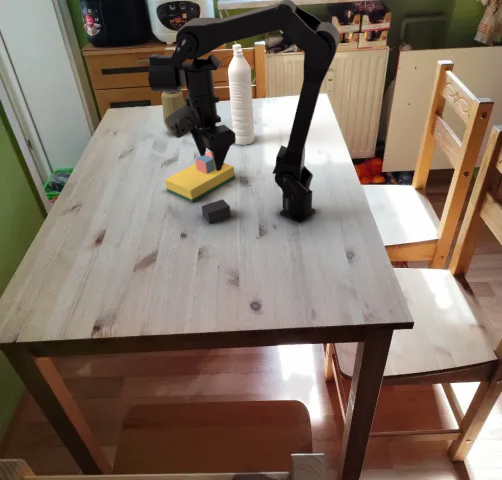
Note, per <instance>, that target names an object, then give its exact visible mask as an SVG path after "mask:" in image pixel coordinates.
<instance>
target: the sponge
mask: <svg viewBox="0 0 502 480" xmlns="http://www.w3.org/2000/svg"><path fill="white" fill-rule="evenodd" d="M235 178H236V177H235V166H233V165H231V164H228V163H225V162H224V165H223V166H222V169H221V170H220V171H216V169H215V170H213V171H211V172H209V173H208V174H207V173H204V172H202V171H199V170H197V167H196V163H194V164H191V165H190V166H188V167H186V168H184V169H182V170H180V171H178V172H176V173H174V174H172V175H171V176H168V177H167V178H165V180H164V181H165V186H166V191H167V192H169V193H170V194H173V195H174V196H177V197H180V198H182V199H184V200H186V201H189V202H191V203H194V202H196V201H198V200H199V199H201V198H203V197H205V196H206V195H208V194H210V193H211V192H214V191H216V190H217V189H219V188H220V187H222V186H224V185H225V184H227V183H229V182H231V181H233V180H234V179H235Z"/></svg>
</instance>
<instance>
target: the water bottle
mask: <svg viewBox="0 0 502 480" xmlns="http://www.w3.org/2000/svg"><path fill="white" fill-rule="evenodd" d="M232 51H233V57H232V59H231V61H230V63H229V66H228V69H227V76H228V77H227V78H228V86H229V100H230V112H231V120H232V121H231V124H232V131H233V132H235V138H236V142H235V143H234V144H236V145H238V146H247V145H251V144H252V143H253V142H255V125H254V106H253V102H254V101H253V89H252V87H253V86H252V85H253V84H252V69H251V66H250V64H249V63H248V60H247V59H246V58H245V57H244V52H243V49H242V45H241V44H239V43H234V44H233V45H232Z"/></svg>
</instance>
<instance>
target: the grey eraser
mask: <svg viewBox="0 0 502 480" xmlns="http://www.w3.org/2000/svg"><path fill="white" fill-rule="evenodd" d="M201 212H202V217H203V218H204V219H205V220H206V222H207V223H208V224H209V225H210V224H214V223H216V222H220V221H223V220H226V219H229V218H231V217H232V214H231V206H230V204H228V203H227V201H225V200H224V199H219V200H215V201H213V202H209V203H207V204H203V205H201Z"/></svg>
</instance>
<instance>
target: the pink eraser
mask: <svg viewBox="0 0 502 480" xmlns="http://www.w3.org/2000/svg"><path fill="white" fill-rule="evenodd" d="M194 159H195V160H194V161H195V164H196V167H197V170H199V171H202V172H204V173H207V174H208V173H209V172H211V171H213V170H215V169H216V168H215V165H214V162H213V158H212V154H211V151H210V150H209V151H207V152H206V153H205V155H204V156H200V155H199V156H197V157H196V158H194ZM224 163H225V162H224ZM224 163H223V165H224Z"/></svg>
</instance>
